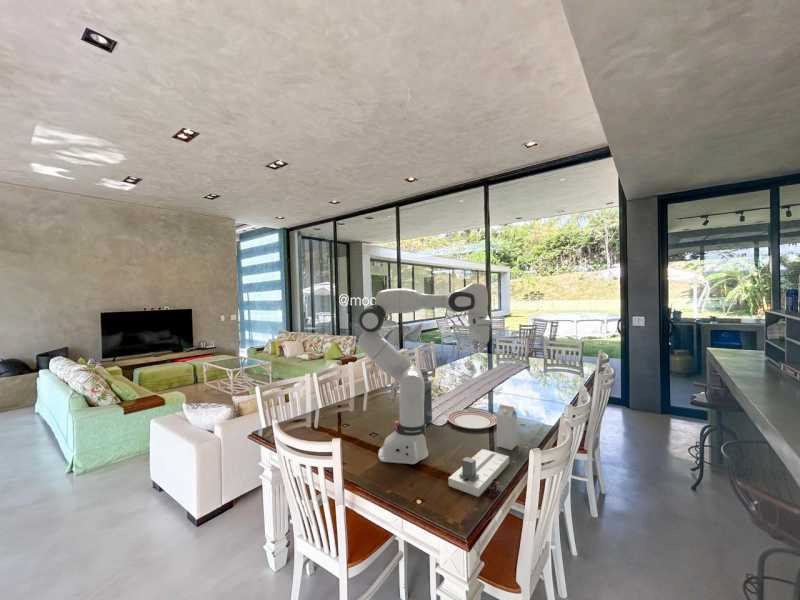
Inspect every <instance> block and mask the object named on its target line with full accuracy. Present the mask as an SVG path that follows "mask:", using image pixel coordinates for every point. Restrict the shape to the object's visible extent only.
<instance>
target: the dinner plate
mask: <svg viewBox="0 0 800 600" xmlns="http://www.w3.org/2000/svg"><path fill="white" fill-rule="evenodd" d="M447 420H448V422H450V423H451V424H452V425H455V426H456V427H460V428H463V429H467V430H482V429H488V428H491V427H493V426H495V425H497V416H496V415H494V414H492V413H490V412H487V411H484V410H479V409H459V410H455V411H452V412H450V413H449V414H448V415H447Z"/></svg>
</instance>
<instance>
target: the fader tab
mask: <svg viewBox="0 0 800 600" xmlns="http://www.w3.org/2000/svg"><path fill="white" fill-rule="evenodd" d="M471 458H472V457H468V456H465V457H464V458H462V459H461V460H462V461H461V463H462V464H461V467H462V473H461V474H460V475H459V476H460V477H463V478H466V479H469V480H472V481H475V480H476V479H477V478H478V477H479V475H478V474H476V460H475V459H471Z"/></svg>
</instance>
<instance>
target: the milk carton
mask: <svg viewBox="0 0 800 600" xmlns="http://www.w3.org/2000/svg"><path fill="white" fill-rule="evenodd" d="M496 418H497V423H496V446H497V447H498V448H502V449H506V450H509V451H510V450H511V451H512V450H514V448H516V447H517V446H518V415H517V411H516V410H515V407H514V406H511V405H505V404H499V405H498V410H497V413H496Z"/></svg>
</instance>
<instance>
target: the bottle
mask: <svg viewBox="0 0 800 600" xmlns="http://www.w3.org/2000/svg"><path fill="white" fill-rule="evenodd" d="M418 368H419V367H418ZM419 369H420V371H421V372H422V376H423V378H424V422H425V424H427V423H426V422H429V423H431V422H432V421H433V410H432V409H433V408H432V405H433V404H432V403H433V402H432V401H433V400H432V397H433V396H432V380H431V379H429V375H428V374H429V373H428V372H429V371H428V369H427V368H425V367H420V368H419ZM431 420H432V421H431ZM430 421H431V422H430Z"/></svg>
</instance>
